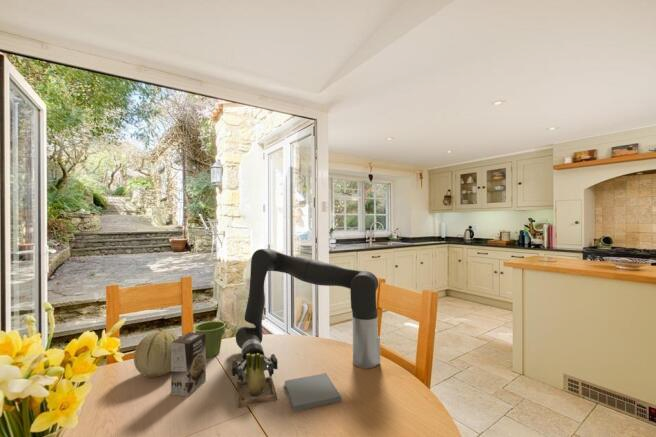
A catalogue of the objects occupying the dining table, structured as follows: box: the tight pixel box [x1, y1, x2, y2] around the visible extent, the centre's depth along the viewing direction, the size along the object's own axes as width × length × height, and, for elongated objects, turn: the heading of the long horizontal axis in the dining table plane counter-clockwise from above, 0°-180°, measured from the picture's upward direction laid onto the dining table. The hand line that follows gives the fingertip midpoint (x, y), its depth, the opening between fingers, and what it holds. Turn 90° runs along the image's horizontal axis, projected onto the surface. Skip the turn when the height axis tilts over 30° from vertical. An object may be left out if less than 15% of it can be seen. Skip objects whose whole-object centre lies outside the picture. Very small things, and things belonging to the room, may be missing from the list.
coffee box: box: [170, 332, 207, 397], centre depth 95 cm, size 9×6×16 cm
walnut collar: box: [236, 375, 278, 408], centre depth 92 cm, size 11×12×1 cm
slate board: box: [284, 372, 342, 412], centre depth 92 cm, size 14×14×2 cm
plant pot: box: [193, 320, 226, 358], centre depth 120 cm, size 12×12×11 cm
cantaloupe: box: [133, 328, 180, 378], centre depth 104 cm, size 15×15×15 cm
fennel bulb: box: [245, 353, 267, 397], centre depth 92 cm, size 6×5×12 cm
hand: (256, 375), depth 91 cm, fingers open, 8 cm apart
